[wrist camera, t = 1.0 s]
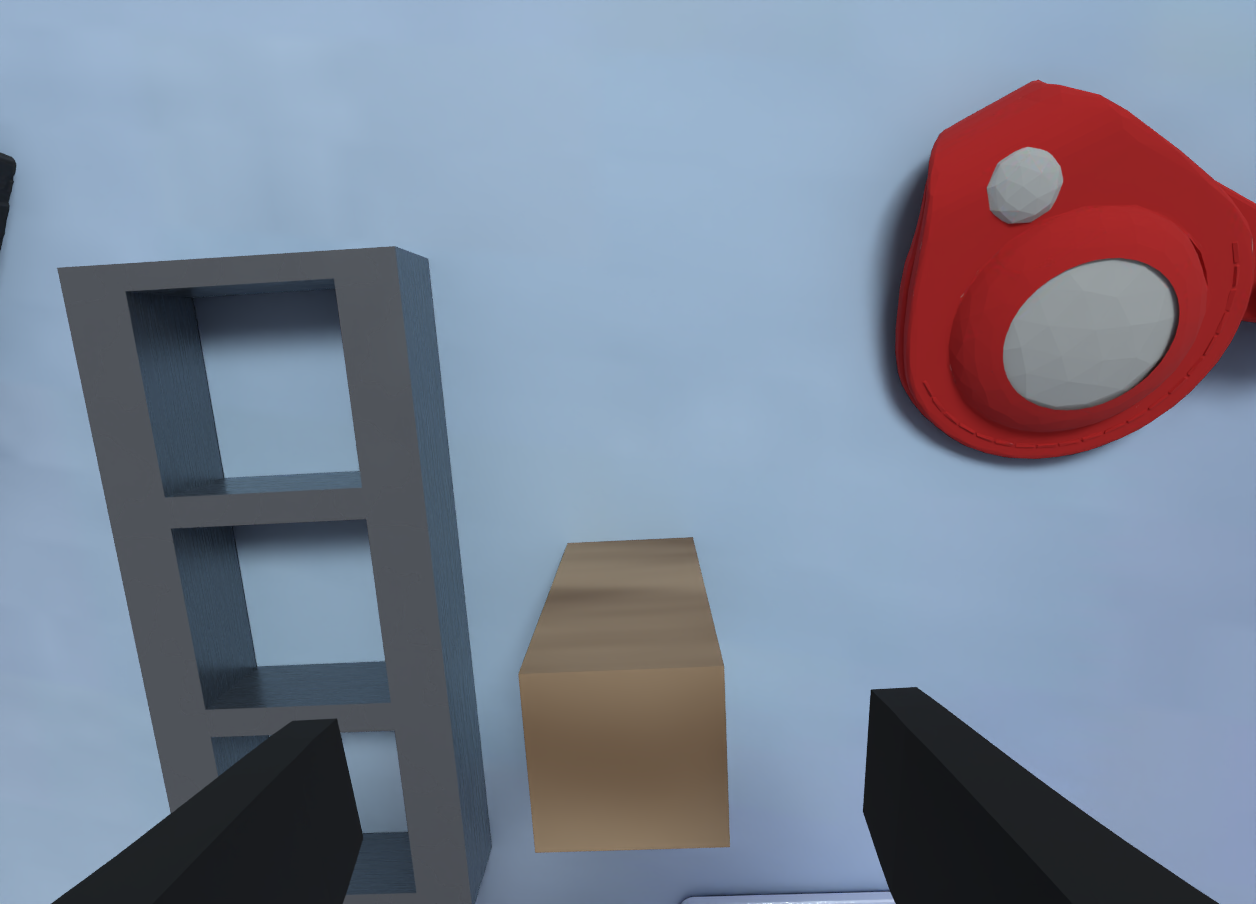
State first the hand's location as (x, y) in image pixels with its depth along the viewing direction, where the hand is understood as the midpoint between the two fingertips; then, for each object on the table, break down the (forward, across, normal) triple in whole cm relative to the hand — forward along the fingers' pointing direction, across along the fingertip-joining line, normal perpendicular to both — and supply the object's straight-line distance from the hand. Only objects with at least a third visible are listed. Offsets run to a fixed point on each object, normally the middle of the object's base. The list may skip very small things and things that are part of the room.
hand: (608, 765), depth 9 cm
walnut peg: (+11, 0, +4) cm, 12 cm away
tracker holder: (+12, -14, -5) cm, 19 cm away
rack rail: (+12, +10, +3) cm, 15 cm away
